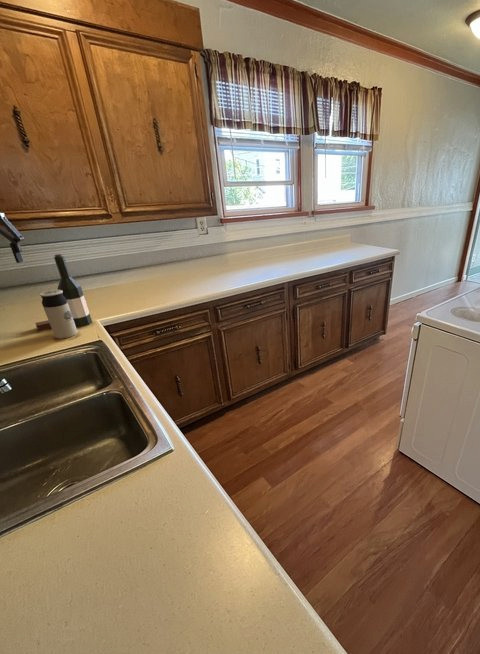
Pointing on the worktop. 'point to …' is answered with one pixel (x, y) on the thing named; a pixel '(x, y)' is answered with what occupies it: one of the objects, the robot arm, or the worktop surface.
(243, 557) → the worktop surface
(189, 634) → the worktop surface
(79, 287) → the wine bottle
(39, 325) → the granola bar
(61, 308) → the travel mug
